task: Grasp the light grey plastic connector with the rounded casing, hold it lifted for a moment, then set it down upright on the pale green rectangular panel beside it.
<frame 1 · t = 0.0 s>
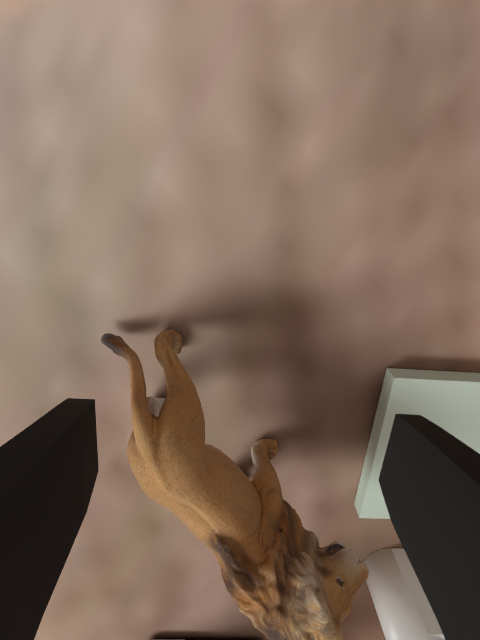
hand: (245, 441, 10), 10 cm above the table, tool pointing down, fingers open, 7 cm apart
lion figurine: (226, 421, 22), on the table
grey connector: (416, 566, 27), on the table
pale green rectangular panel: (474, 445, 23), on the table
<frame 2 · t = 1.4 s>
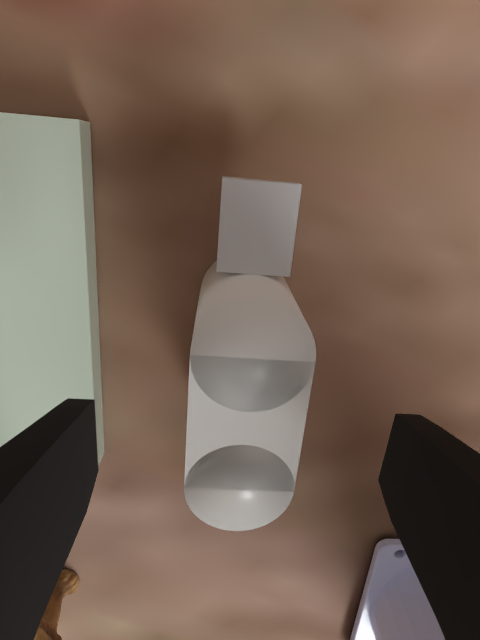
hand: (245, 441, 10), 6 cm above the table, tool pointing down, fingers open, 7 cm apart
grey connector: (238, 345, 15), on the table
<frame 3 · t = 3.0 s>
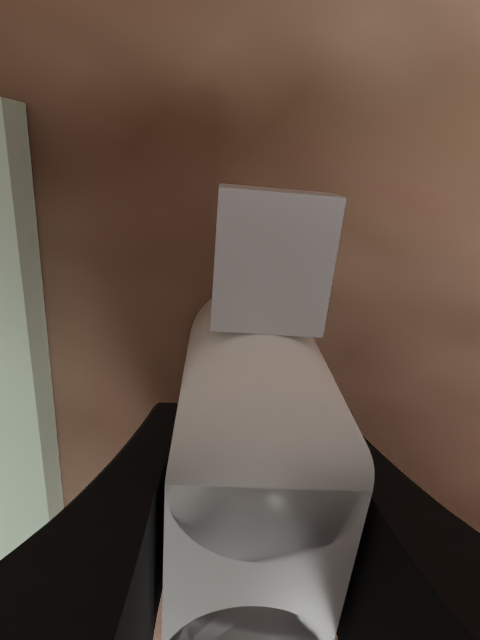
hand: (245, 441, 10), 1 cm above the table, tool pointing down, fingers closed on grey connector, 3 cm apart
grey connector: (242, 408, 11), on the table, touching gripper
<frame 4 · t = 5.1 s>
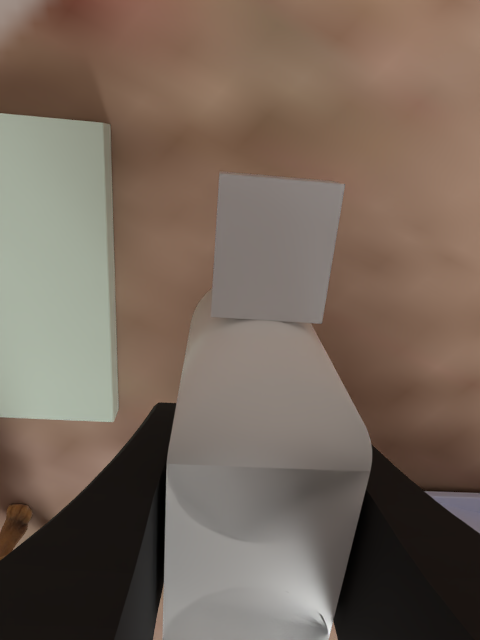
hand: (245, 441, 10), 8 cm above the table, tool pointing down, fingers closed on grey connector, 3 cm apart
lion figurine: (3, 539, 22), on the table
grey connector: (242, 398, 11), point 7 cm above the table, touching gripper
pale green rectangular panel: (1, 277, 17), on the table
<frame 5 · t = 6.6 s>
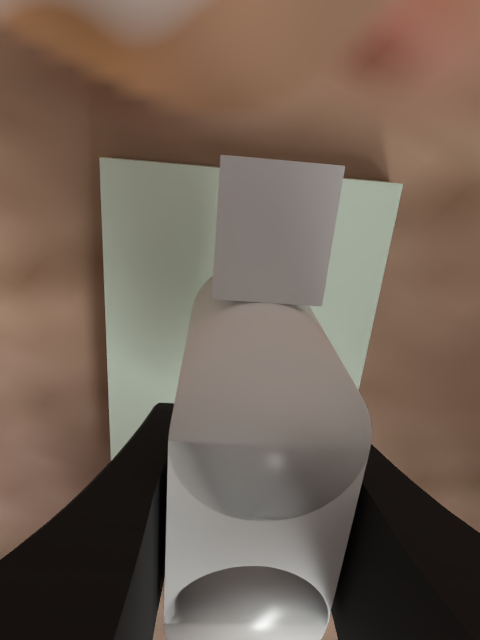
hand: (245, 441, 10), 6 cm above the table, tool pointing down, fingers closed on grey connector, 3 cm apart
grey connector: (242, 386, 11), point 4 cm above the table, touching gripper
pale green rectangular panel: (237, 341, 15), on the table
when the fingers open (4 cm above the table, at t = 7.7 s): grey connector drops 1 cm, resting on pale green rectangular panel.
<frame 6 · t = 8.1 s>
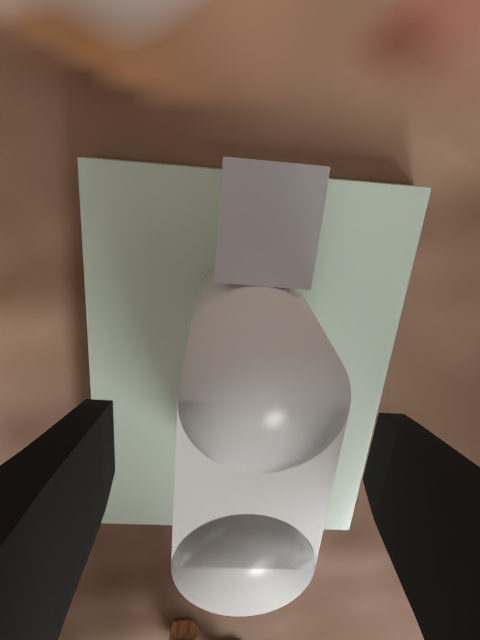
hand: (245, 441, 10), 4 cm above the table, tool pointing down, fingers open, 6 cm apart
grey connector: (241, 368, 13), point 1 cm above the table, touching pale green rectangular panel
pale green rectangular panel: (238, 365, 14), on the table
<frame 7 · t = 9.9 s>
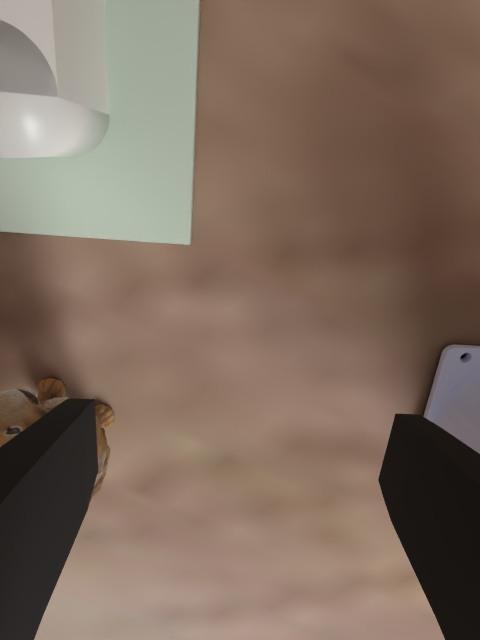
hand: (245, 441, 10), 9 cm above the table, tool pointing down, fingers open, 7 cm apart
lion figurine: (34, 424, 21), on the table
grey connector: (61, 43, 14), point 1 cm above the table, touching pale green rectangular panel
pale green rectangular panel: (72, 64, 15), on the table
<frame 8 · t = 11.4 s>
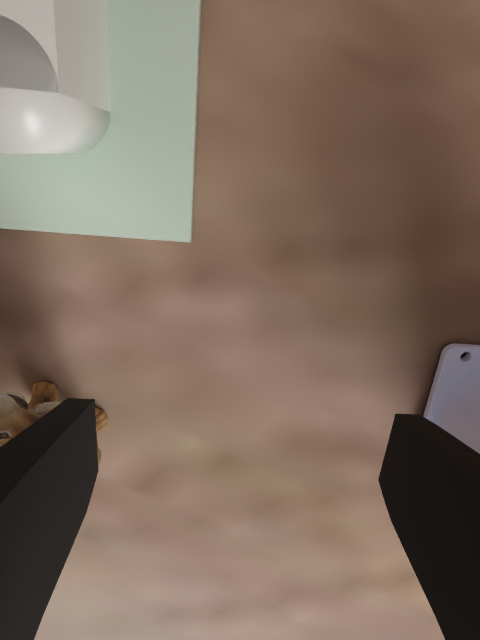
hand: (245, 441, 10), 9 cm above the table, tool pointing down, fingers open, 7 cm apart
lion figurine: (28, 427, 21), on the table
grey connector: (62, 40, 14), point 1 cm above the table, touching pale green rectangular panel
pale green rectangular panel: (73, 61, 15), on the table
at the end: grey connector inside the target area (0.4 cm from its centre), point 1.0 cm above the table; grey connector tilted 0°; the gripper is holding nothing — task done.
